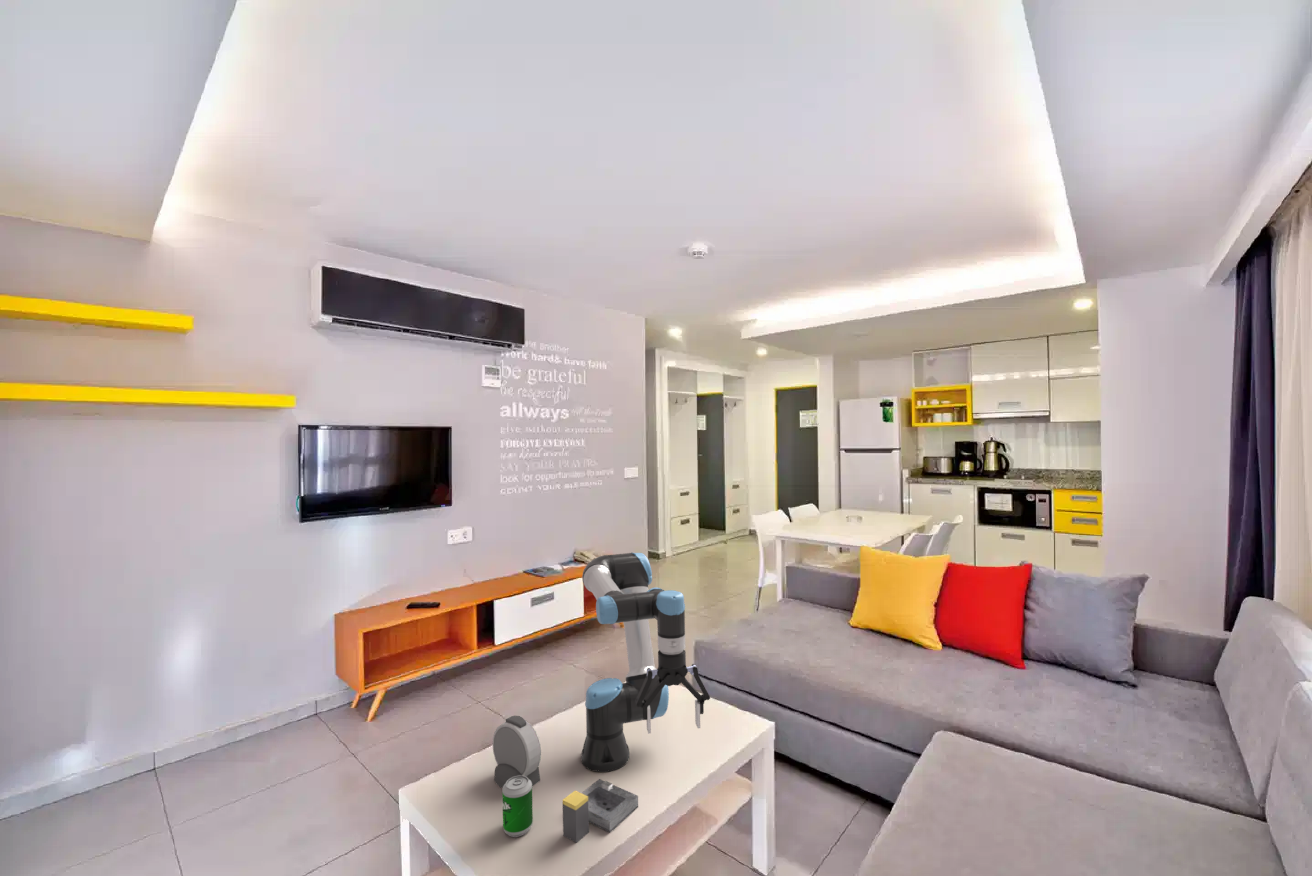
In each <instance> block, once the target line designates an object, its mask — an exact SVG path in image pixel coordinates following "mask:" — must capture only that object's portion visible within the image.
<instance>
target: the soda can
mask: <svg viewBox="0 0 1312 876" xmlns="http://www.w3.org/2000/svg"><path fill="white" fill-rule="evenodd" d="M501 792H502V793H501V794H502V795H501V796H502V830H503V832H504V833H505V834H506V835H507V836H509V837H512V838H518V837H521V836H523V835H525V834H527V832H529V831H530V829H531V828H532V827H533V822H534V817H533V814H534V813H533V786H532V782H531V780H529V779H528V778H527V777H526V776H520V775H519V776H514V777H512V778H510V779H509V780H507V782H506V783H505V784H504V786H503V788H501Z"/></svg>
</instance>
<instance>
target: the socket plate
mask: <svg viewBox="0 0 1312 876" xmlns="http://www.w3.org/2000/svg"><path fill="white" fill-rule="evenodd" d="M581 793H582V794H584V795H586V796H588V810H589V824H592V825H593V826H596V827H597V828H599V829H602V830H604V831H606V832H608V833H611V832H613V831H614V830H615V829H616V828H617V827H618V826H619V825H620V824H622V822H623V821H625V820H626V819H627V818H628V817H629V816H630V815H631V814H632V813H633V812H635V810H637V808H639V795H637V794H635V793H633V792H630V791H628V790H626V789H624V788H621V787H619V786H616V785H614V784H613V783H612V782H610V781H608V780H603V779H601V778H598V780H596V781H595V782H593V783H592V784H591V785H589V786H588V787H587V788H586V789H584V790H583V791H581Z"/></svg>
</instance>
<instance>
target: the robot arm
mask: <svg viewBox="0 0 1312 876" xmlns="http://www.w3.org/2000/svg"><path fill="white" fill-rule="evenodd" d="M652 573H653V572H652V567H651V564H650V561H649V559H648V557H647V556H646V555H645V554H644V553H642V552H627V553H618V554H617V553H616V554H604V555H600V556H596V557H595V558H593V559H592V560H590V561H589V562H588V563H587V565H586V566H585V568H584V569H583V571H582V574H581V575H582V576H581V579H582V584H583V585H584V587H585V588H586V590H587V591H589V592H590V593H592V594H593V596H594V598H595V600H596V603H595V612H596V618H597V622H598V623H599V624H601V625H613V624H619V623H621V624H622V623H623V627H624V635H625V636H624V637H625V644H626V654H627V661H628V672H627V674H626V675H625V682H622V680H620V679H619V678H616V677H613V678H612V677H606V678H602V679H598V680H596V681H595V682H593V683H592V684H591V685H590V686H588V688H587V689H586V693H585V703H584V705H585V712H586V713H585V719H586V726H585V727H586V728H585V729H586V737H585V740H584V741H583V747H582V750H581V756H580V757H581V764H582V765H583V766H584V768H586V769H587V770H590V771H592V772H598V773H599V772H600V773H604V772H611V771H616V770H618V769H620V768H622V767H624V766H625V765H626V764H627V763H628V761H629V759H630V748H629V747H630V746H629V745H628V742H627V739H626V736H625V733H624V724H628V723H636V722H639V721H640V722H641V721H646V731H647V734H652V732H651V730H652V722H651V721H652V720H654V719H656V718H661V717H664V716H665V715H666V713H667V710H668V707H669V701H670V700H669V698H670V697H669V695H670V693H669V687H671V686H680V684H682V685H683V687H685V688H686V689H687V690H688V692H689V693H691V694H692V696H693V697H694V698H695V699H694V708H695V709H694V710H695V711H694V713H695V715H694V716H695V717H694V718H695V719H694V720H695V721H694V722H695V725H696V728H697V729H701V715H703V714H704V712H705V711H704V707H705V706H704V704H705V701H710V700H711V696H710V694H709V692H708V691H707V689H706V686H705V685H704V683H703V681H702V679H701V678H700V675H699V670H698V669H699V668H697V665H696V664H695V663H692V664H691V665H690V666H687V663H686V662H687V661H686V659H687V658H686V656H687V655H686V650H685V649H686V624H685V623H686V619H685V617H686V615H685V613H686V611H685V610H686V604H685V596H684V594H683V593H682V592H681V591H678V590H671V589H670V590H664V589H663V588H660V587H652V588H651V587H650V589H649V586H650V585H651V584H652V582H653V576H652V575H653V574H652ZM653 619H655V620H656V622H657V625H656V626H657V649H658V651H657V665H658V666H657V667H656V666H655V659H654V652H653V651H654V650H653V644H652V637H651V629H650V621H649V620H653ZM688 673H689V674H690V675H691V676H693V677H694V679H695V681H696V683H697V685H698V687H699V688H700V690H701V692H702V694H701V693H700V692H699V691H698V690H697V689H696V688H695V686H694V685H693V684H691V683H690V682H689V680H688V679H687V678H686V675H687V674H688Z"/></svg>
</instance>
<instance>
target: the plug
mask: <svg viewBox="0 0 1312 876" xmlns="http://www.w3.org/2000/svg"><path fill="white" fill-rule="evenodd" d="M589 832H590V823H589V810H588V796H586V795H584V794H582V792H579V791H577V790H573V792H571V793H570V794H568V795H567V796H566V797H564V798H563V799H562V834H563V835H562V836H563V837H565V838H566V839H568V840H569V841H572V842H574V843H576V844H577V843H579V841H580V840H581V839H583V838H584V837H585V836H587V835H588V834H589Z"/></svg>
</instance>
